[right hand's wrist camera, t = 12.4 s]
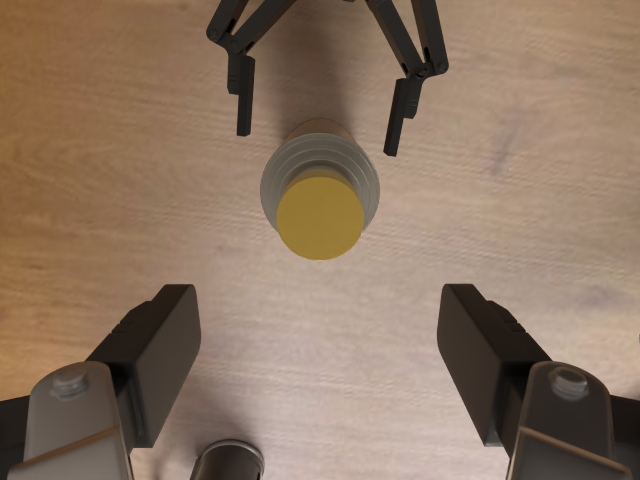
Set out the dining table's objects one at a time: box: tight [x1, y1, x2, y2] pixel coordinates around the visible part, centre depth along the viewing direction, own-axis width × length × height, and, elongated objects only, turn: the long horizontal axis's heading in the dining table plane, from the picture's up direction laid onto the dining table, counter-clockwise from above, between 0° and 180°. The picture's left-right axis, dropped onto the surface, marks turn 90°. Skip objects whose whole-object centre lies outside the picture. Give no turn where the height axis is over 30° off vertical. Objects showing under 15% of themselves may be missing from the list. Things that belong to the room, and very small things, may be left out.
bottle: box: [260, 119, 380, 233], centre depth 31 cm, size 8×8×23 cm
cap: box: [276, 170, 364, 261], centre depth 21 cm, size 4×4×2 cm
